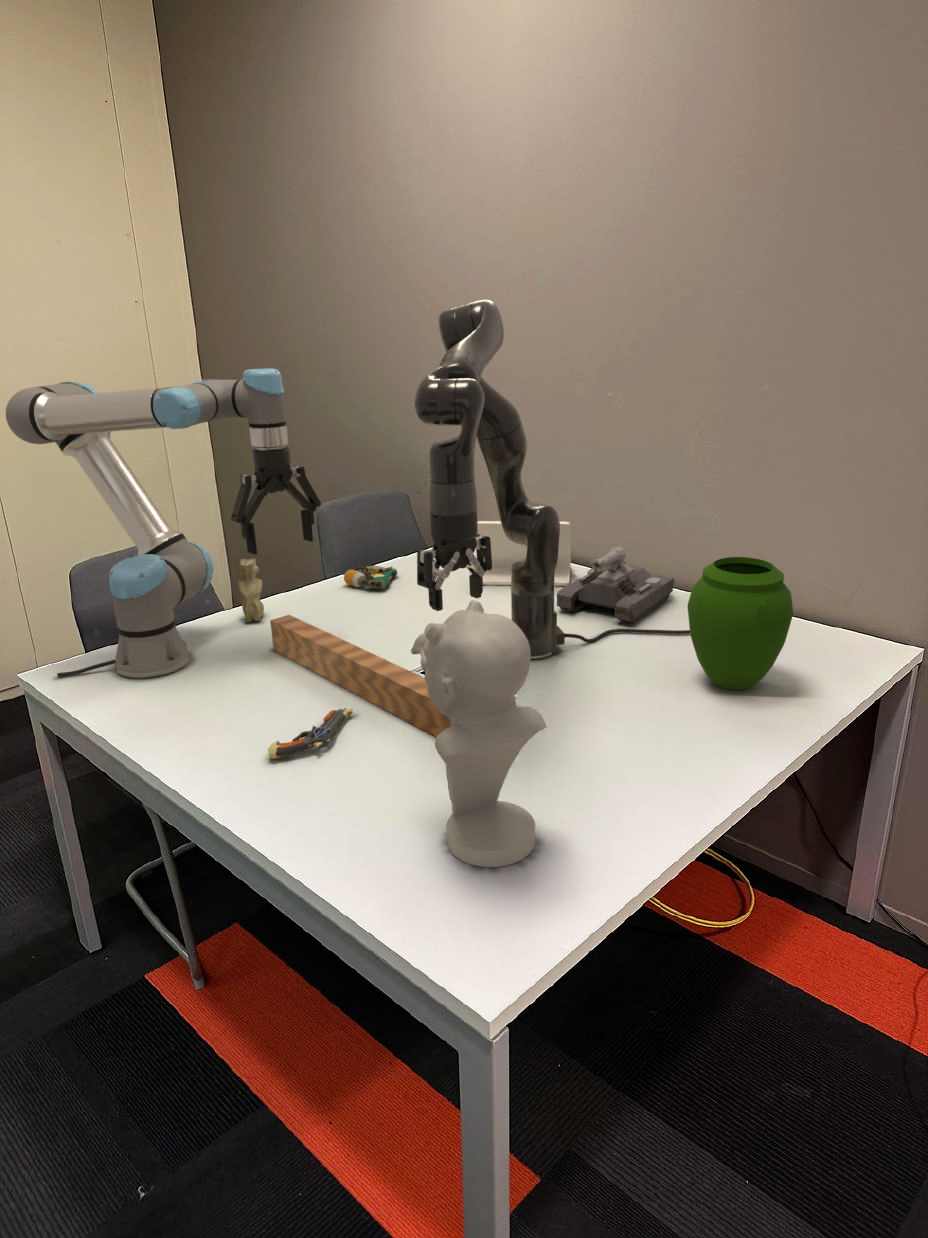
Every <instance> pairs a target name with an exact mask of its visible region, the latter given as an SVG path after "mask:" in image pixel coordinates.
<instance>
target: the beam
mask: <svg viewBox="0 0 928 1238" xmlns="http://www.w3.org/2000/svg"><path fill="white" fill-rule="evenodd" d="M269 622H270V631H271V638H272V648H273V651H274V652H276V653H279V654H281V655H282V656H284V657H286V658H288V659H290V660H291V661H293V662H295V663H297V664H299V665H301V666H303V667H305V668H306V669H308V670H310V671H312V672H313V673H316V674H318V675H320V676H322V677H323V678H325V679H327V680H329V681H330V682H333V683H334V684H336V685H338V686H339V687H341V688H344V689H346V690H347V691H349V692H351V693H353V694H355V695H357V696H359V697H361V698H362V699H364V700H366V701H368V702H370V703H372V704H374V705H376V706H377V707H379V708H381V709H383V710H385V711H387V712H388V713H390V714H392V715H394V716H395V717H398V718H400V719H401V720H404V721H405V722H407V723H409V724H411V725H412V726H414V727H416V728H418V729H420V730H422V731H423V732H425V733H427V734H429V735H431V736H433V737H435V738H436V737H437V736H438V735H439V734H440V733H441V732H442V731H443V730H445V729H446V728H448V727H450V726H451V720H450V719H449V718H448V717H447V716H446V715H443V714H442V713H441V712H440V711H439V710H438V709H437V708H436V706H435V704H434V703H433V702H432V701H431V698H430V695H429V693H428V691H427V683H426V681H425V676H422V675H419V674H417V673H416V672H413V671H411V670H408V669H407V668H404V667H402V666H400V665H398V664H396V663H394V662H391V661H390V660H387V659H386V658H383V657H381V656H379V655H376V654H374V653H372V652H370V651H369V650H366V649H364V648H361V647H359V646H357V645H355V644H354V643H350V642H349V641H346V640H344V639H343V638H341V637H338V636H337V635H335V634H332V633H329V632H327V631H326V630H323V629H321V628H319V627H316V626H315V625H312V624H310V623H308V622H307V621H304V620H302V619H299V618H297V617H296V616H293V615H291V614H287V615H283V616H280V617H276V618H273V619H270V621H269Z"/></svg>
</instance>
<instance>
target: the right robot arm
mask: <svg viewBox="0 0 928 1238" xmlns="http://www.w3.org/2000/svg"><path fill="white" fill-rule="evenodd" d="M503 323H504V322H503V319H502V316H501V312H500V309H499V308H498V306H497V305H496V303H494V302H493V301H492V300H489V299H480V300H476V301H472V302H469V303H468V302H467V303H464V304H460V305H458V306H454V307H451V308H447V309H444V310H443V311H441V312H440V314H439V316H438V331H439V335H440V338H441V341H442V344H443V348H444V350H445V354H444V355H443V357H442V358H441V361H440V363H439V366H438V367H437V368H435V369H434V370H433V371H431V372H430V373H428V374H427V375H426V376H425V377H424V378H423V379H422V380H421V381H420V383H419V384H418V387H417V389H416V391H415V395H414V411H415V413H416V415H417V417H418V418H419V420H420V421H421V422H423V424H425V425H428V426H431V427H446V426H447V427H456V426H458V427H459V426H460V430H459V431H460V432H459V433H458V435H457V436H455V437H452V438H449V439H444V440H441V441H437V442H434V443H433V444H431V446H430V447H429V453H428V456H429V457H428V459H429V482H430V483H429V493H428V495H429V496H428V497H429V498H428V499H429V513H430V514H429V517H430V519H429V520H430V535H431V538H432V540H433V546H432V549H427V550H425V549H421V548H420V549H419V550H417V552H416V582H417V583H416V584H417V586H419V587H423V588H425V589H428V590H427V592H428V605H429V607H430V608H431V609H432V610H433V611H436V612H441V611H442V610H443V609H444V605H443V600H444V599H443V589H442V586H443V584H444V582H445V580H446V579H448V578H449V577H450V574H451V572H455V571H458V570H460V569H466V570H467V571H468V572H469V573H470V574H469V575H468V577H469V583H468V584H469V596H470V597H471V598H473V599H480V598H482V594H483V591H484V586H483V575H484V573H485V572H486V571H487V570H488V571H490V570H491V569H492V555H491V540H490V537H488V536H484V535H480V534H478V531H477V522H478V499H477V498H478V496H477V495H478V494H477V487H476V479H475V478H476V477H475V476H476V475H475V450H476V440H477V442H478V446H479V448H480V449H479V450H480V452H481V454H482V457H483V459H484V463H485V466H486V469H487V471H488V475H489V479H490V482H491V485H492V488H493V492H494V497H495V501H496V506H497V511H498V514H499V519H500V520H499V521H501V524H502V528H503V531H504V533H505V535H506V537H507V538H508V539H509V540H510V541H512V542H514V543H516V544H520V545H524V546H527V556H526V559H522V560H519V561H516V562H515V563H513V564H512V567H511V585H510V588H511V589H510V597H511V599H510V603H511V604H510V606H511V607H510V609H511V610H510V615H511V617H510V619H511V620H512V621H513V622H514V623H515V624H516V625H517V626H518V627H519V628H520V629H521V630H522V632H523V633H524V634H525V636H526V638H527V640H528V643H529V646H530V652H531V653H530V655H531V656H530V660H540V659H545V658H548V657H550V656H552V655H557V654H558V653H557V650H558V649H557V648H558V647H557V646H561V645H562V646H563V645H566V644H565V640H566V639H565V638H571V639H577V640H578V639H579V640H581V641H583V642H584V643H586V644H587V643H588V644H590V643H595V642H597V641H599V640H601V639H603V638H604V637H605V636H607V635H610V634H615V633H639V634H665V635H667V634H668V635H687V634H688V635H690V629H686V630H683V629H681V630H680V629H679V630H677V629H676V630H671V629H668V630H667V629H643V628H642V629H641V628H613V629H608V630H606V631H603V632H602V633H599V634H598V635H597V636H595V637H593V638H587V637H584V636H582V635H580V634H577V633H576V634H575V633H565V632H564V631H563V630H562V629H561V627H560V626H559V625H558V613H557V612H556V611H555V586H554V572H555V568H556V565H557V561H558V550H559V536H560V522H561V521H560V516H559V514H558V511H557V510H556V509H555V508H554V507H553V506H551V505H548V504H543V503H539V502H536V501H535V502H533V501H531V500H529V498H528V496H527V494H526V492H525V488H524V485H523V482H522V470H523V466H524V463H525V460H526V456H527V450H528V441H527V440H528V439H527V435H526V432H525V429H524V425H523V423H522V419H521V415H520V413H519V411H518V410H517V408H516V407H515V405H514V404H513V403H511V401H510V400H508V399H507V398H506V397H504V395H502V394H501V393H500V392H499V391H498V390H496V389H495V388H494V387H493V386H492V385H490V384H489V383H488V382H487V381H486V380H485V379H484V378H483V377H482V374H483V373H484V370H485V369H486V367H487V365H488V364H489V363H490V362H491V360H493V358H494V357H495V355H496V354H497V353H498V351H499V350H500V349H501V347H502V345H503V343H504V339H505V330H504V324H503ZM474 553H476V556H475V554H474ZM484 558H485V562H484ZM440 567H441V568H442V569H440Z"/></svg>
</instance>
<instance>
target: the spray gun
mask: <svg viewBox="0 0 928 1238" xmlns="http://www.w3.org/2000/svg"><path fill="white" fill-rule="evenodd" d="M397 575H398V570H397V569H396V568H393V566H388V567H385V566H384V567H383V566H379V565H366V566H364V565H363V566H358V567H357V570H355V569H350V568H349V569H348V570H346V571H345V573H344V575H343V581H344V582H345V584H347V585H348V586H351V587H355V588H362V587H364V586H366V587H368V588H369V589H386V588H387V586H388V585H389V583H390V581H391V580H392V579H393V578H395V577H397Z"/></svg>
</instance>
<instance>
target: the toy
mask: <svg viewBox="0 0 928 1238" xmlns="http://www.w3.org/2000/svg"><path fill="white" fill-rule="evenodd" d="M626 557H627V556H626V551H625V549H624V548H622V547H621V546H614V547H612V548H611V549H610V550H609V552H608V553H607V554H605V555H604V556H601V557H599V558H598V559H597V557H596V558H594V559H593V560H592V561H590V562H589V563H590V564H591V565H592V567H591V568H590V569H589V570H587V573H586V575H584V576H582V577H580V578H578V579H577V580H575V581H573V582H570V583H569V585H567V586H563V587H562V588H560V589H559V590H558V591H557V592H556V607H558V608H559V609H560V610H562V611H566V612H572V613H575V612H577V611H579V610H581V609H582V608H585V607H586V606H588V605H592V606H598V607H602V608H603V607H604V608H609V609H613V610H614V618H615V619H617V620H618V621H621V622H626V623H631V624H634V623H635V622H637V621H638V620H640V619H641V618H642V617H644V616H645V615H647V614H648V613H650V612H651V611H652V610H654V609H655V608H657V607H659V606H660V605H661V604H663V603H664V602H666V601H667V600H669V598H670V596H671V594H672V593H673V591H674V585H675V580H676V579H675V578H673V577H668V576H663V575H656V576H655V577H654V576H651V574H650V573H649V572H648V571H647V570H646V568H644V567H641V566H635V565H629V564H628V563H627V562H626V561H625V559H626Z"/></svg>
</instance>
